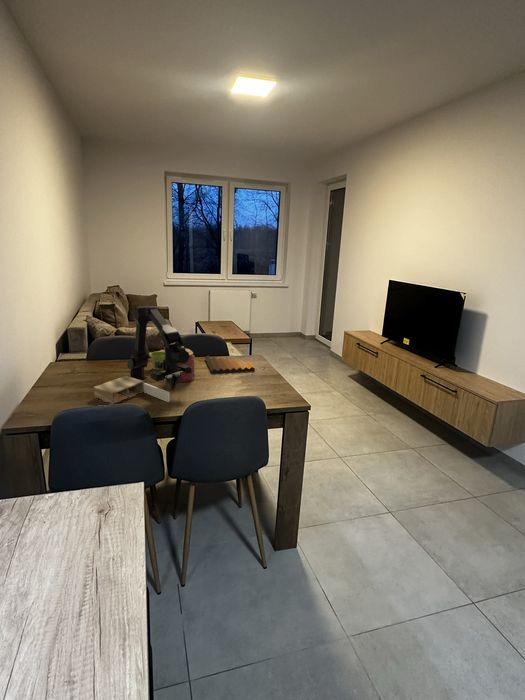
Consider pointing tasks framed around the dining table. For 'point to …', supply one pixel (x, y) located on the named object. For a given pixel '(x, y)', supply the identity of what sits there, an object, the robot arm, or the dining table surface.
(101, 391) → the cabinet
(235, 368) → the scalloped wooden trivet
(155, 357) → the plant pot
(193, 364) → the canister
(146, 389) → the white flat slab piece
